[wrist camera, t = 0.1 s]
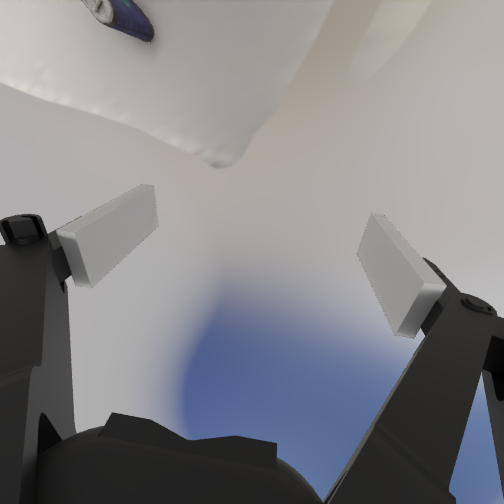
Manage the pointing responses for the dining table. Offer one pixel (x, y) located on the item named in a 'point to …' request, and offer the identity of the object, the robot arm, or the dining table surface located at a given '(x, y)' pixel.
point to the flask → (122, 17)
